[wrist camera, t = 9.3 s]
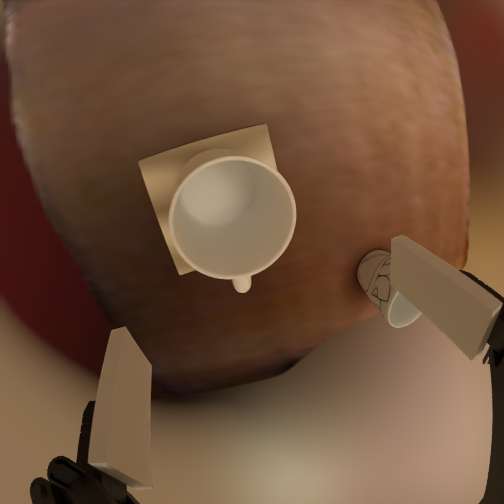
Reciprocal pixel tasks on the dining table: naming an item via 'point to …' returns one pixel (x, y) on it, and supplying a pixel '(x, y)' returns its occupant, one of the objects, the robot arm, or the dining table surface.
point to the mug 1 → (231, 215)
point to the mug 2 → (385, 290)
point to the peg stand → (172, 161)
